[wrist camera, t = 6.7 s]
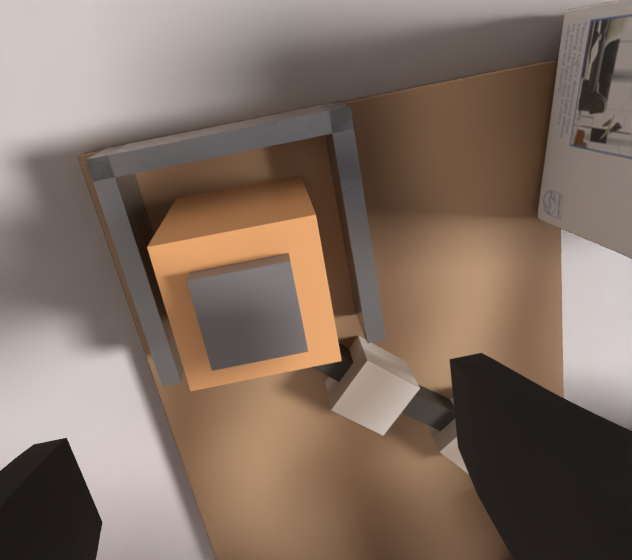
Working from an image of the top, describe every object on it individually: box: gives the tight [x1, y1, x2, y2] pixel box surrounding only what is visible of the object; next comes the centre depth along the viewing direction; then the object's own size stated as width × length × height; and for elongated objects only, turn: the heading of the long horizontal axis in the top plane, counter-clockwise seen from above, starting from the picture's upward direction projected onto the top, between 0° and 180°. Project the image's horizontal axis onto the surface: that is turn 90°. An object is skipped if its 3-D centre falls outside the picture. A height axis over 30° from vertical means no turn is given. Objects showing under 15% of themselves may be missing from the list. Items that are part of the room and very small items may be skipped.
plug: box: [147, 175, 342, 391], centre depth 16 cm, size 4×4×6 cm
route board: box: [78, 61, 563, 560], centre depth 21 cm, size 15×24×3 cm, turn 10°
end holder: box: [86, 102, 386, 387], centre depth 17 cm, size 7×7×2 cm
